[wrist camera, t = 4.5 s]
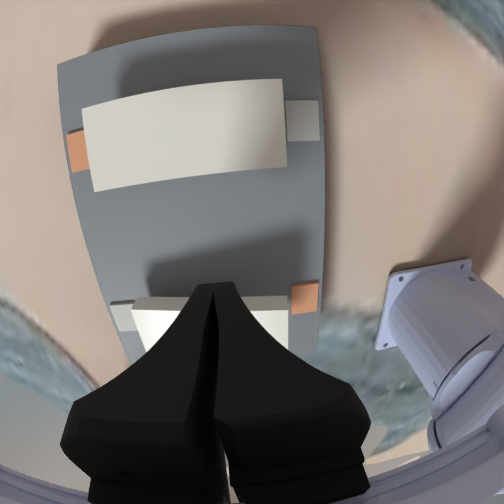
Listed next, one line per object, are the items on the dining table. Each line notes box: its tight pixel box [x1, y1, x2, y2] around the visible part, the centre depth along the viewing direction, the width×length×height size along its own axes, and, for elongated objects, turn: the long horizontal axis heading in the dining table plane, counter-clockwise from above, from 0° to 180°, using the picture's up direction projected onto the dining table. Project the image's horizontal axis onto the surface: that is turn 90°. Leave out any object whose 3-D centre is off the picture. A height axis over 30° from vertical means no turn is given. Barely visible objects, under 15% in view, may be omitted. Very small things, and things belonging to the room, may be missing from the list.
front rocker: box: [82, 79, 287, 192], centre depth 11 cm, size 8×4×1 cm, turn 94°
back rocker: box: [130, 296, 288, 352], centre depth 15 cm, size 8×4×1 cm, turn 94°
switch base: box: [57, 25, 325, 365], centre depth 16 cm, size 13×20×4 cm, turn 4°
